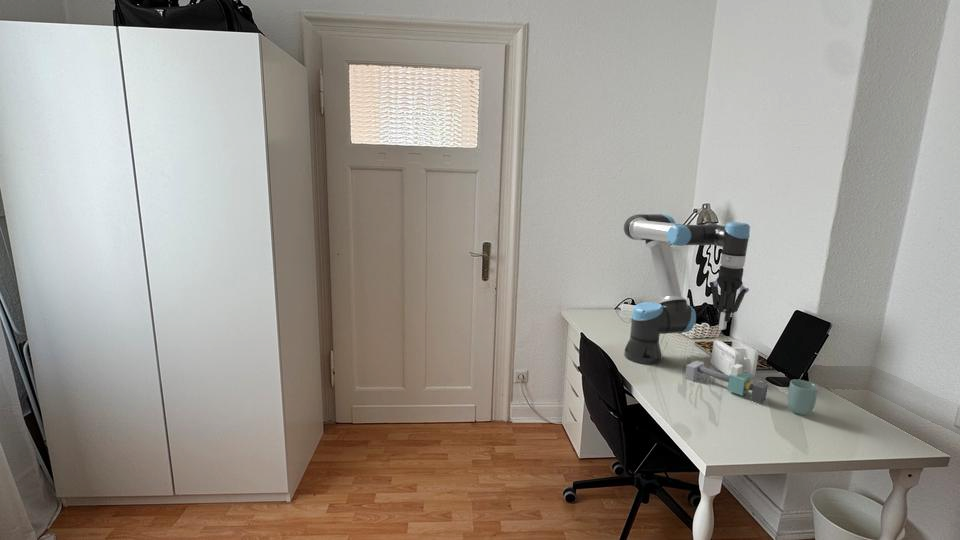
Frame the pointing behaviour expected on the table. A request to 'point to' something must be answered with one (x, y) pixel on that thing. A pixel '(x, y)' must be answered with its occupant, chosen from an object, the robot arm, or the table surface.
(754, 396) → the block
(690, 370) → the grey slab
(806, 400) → the cup
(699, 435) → the table surface
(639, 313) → the robot arm
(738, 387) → the sleeve
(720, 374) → the grey rod
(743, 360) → the cable organizer
